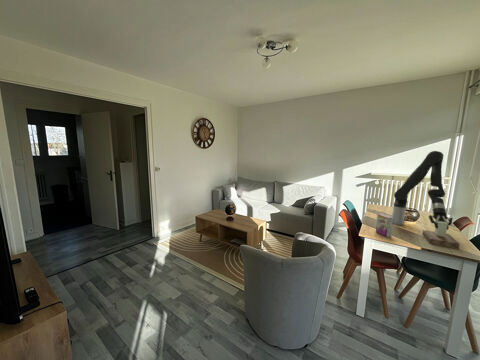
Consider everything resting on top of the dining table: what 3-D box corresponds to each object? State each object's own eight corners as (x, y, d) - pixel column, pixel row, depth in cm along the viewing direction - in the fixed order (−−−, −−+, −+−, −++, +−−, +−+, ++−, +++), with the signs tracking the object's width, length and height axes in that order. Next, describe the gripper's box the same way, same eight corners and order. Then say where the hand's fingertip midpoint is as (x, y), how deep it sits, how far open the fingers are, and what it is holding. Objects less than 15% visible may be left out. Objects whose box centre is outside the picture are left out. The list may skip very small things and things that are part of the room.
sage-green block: (436, 234, 159) (438, 222, 157) (434, 232, 163) (436, 220, 162) (445, 236, 156) (447, 223, 155) (443, 234, 161) (445, 221, 159)
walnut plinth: (429, 243, 156) (430, 238, 155) (422, 234, 173) (423, 230, 172) (458, 248, 148) (459, 243, 147) (448, 238, 165) (448, 233, 165)
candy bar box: (375, 232, 178) (377, 213, 175) (380, 231, 179) (382, 213, 176) (386, 237, 167) (388, 218, 164) (391, 237, 168) (393, 217, 165)
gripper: (428, 206, 167) (431, 224, 158) (452, 208, 160) (456, 228, 151) (425, 210, 172) (428, 229, 164) (449, 213, 165) (452, 232, 157)
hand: (441, 228), depth 157 cm, fingers closed on sage-green block, 5 cm apart
